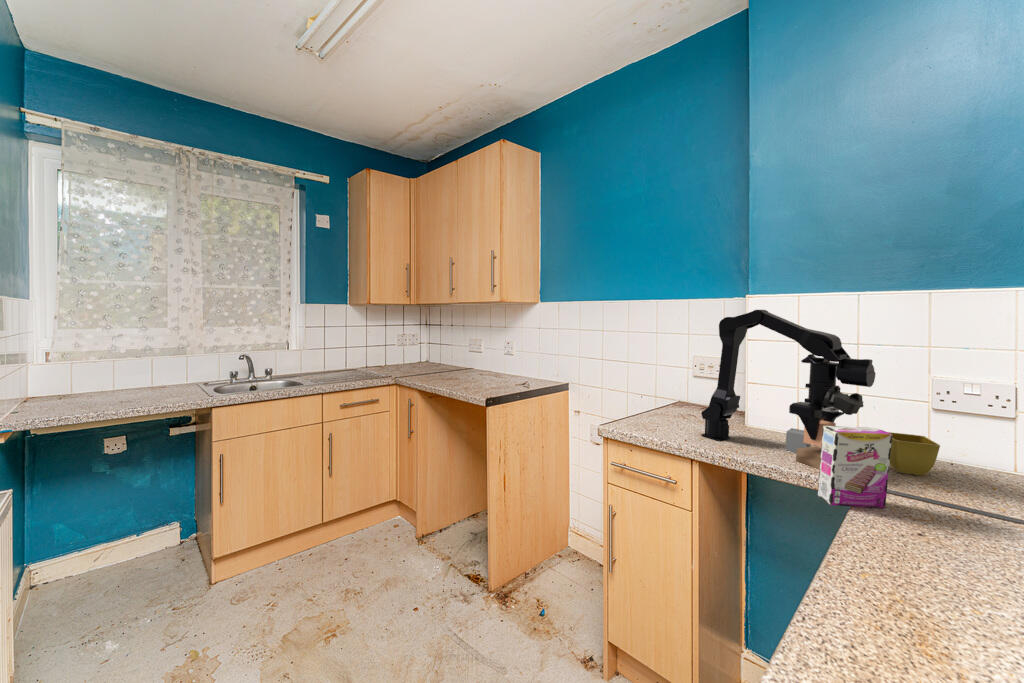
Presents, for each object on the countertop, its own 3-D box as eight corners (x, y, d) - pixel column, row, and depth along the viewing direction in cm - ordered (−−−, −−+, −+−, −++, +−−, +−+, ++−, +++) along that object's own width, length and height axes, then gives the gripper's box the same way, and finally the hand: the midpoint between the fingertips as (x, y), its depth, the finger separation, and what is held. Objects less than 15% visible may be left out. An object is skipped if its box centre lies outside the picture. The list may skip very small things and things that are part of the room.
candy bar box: (831, 506, 89) (836, 431, 88) (816, 496, 94) (820, 425, 93) (888, 509, 88) (893, 433, 87) (870, 498, 93) (875, 426, 92)
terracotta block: (803, 442, 114) (804, 420, 114) (813, 439, 116) (815, 418, 116) (823, 447, 110) (825, 425, 109) (834, 445, 112) (835, 423, 112)
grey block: (785, 451, 125) (786, 431, 124) (790, 447, 128) (791, 428, 128) (805, 455, 121) (806, 435, 121) (810, 451, 125) (811, 431, 124)
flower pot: (921, 468, 111) (924, 435, 111) (938, 480, 103) (941, 445, 103) (879, 463, 115) (881, 431, 114) (892, 474, 107) (894, 440, 106)
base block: (795, 462, 116) (796, 448, 116) (814, 460, 118) (814, 446, 118) (821, 472, 109) (822, 457, 109) (840, 469, 111) (841, 454, 111)
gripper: (837, 389, 101) (833, 452, 102) (877, 383, 109) (872, 442, 110) (789, 381, 110) (786, 439, 112) (828, 377, 119) (825, 430, 120)
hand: (818, 438), depth 113 cm, fingers closed on terracotta block, 5 cm apart
